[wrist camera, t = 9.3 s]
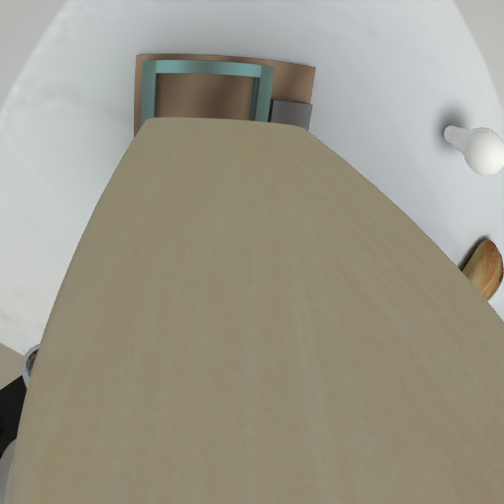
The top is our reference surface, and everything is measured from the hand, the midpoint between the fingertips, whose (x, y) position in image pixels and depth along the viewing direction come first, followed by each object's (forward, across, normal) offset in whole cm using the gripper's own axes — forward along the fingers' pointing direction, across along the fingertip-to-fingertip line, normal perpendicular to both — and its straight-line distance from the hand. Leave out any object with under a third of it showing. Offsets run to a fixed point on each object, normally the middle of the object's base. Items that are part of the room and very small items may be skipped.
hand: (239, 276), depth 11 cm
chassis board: (+26, -2, 0) cm, 26 cm away
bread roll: (+27, -53, +21) cm, 63 cm away
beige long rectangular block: (+8, 0, 0) cm, 8 cm away
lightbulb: (+26, -33, -3) cm, 42 cm away
